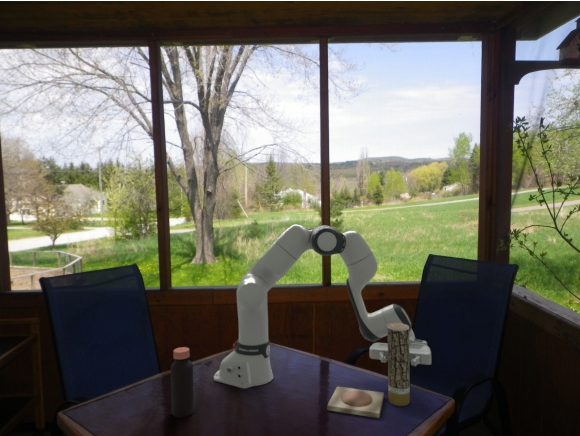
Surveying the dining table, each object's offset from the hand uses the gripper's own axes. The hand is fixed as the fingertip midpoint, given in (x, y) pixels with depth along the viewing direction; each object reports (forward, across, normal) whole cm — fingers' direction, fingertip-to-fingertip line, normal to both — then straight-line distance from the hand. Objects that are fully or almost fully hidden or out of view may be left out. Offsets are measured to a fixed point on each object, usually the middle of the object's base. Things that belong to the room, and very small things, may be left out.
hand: (398, 362), depth 129 cm
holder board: (+4, -13, +14) cm, 19 cm away
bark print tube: (-1, 0, +14) cm, 14 cm away
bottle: (+26, -64, +14) cm, 70 cm away
